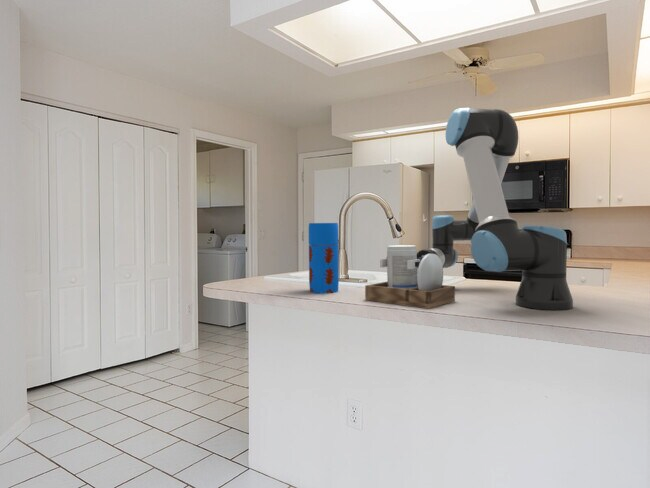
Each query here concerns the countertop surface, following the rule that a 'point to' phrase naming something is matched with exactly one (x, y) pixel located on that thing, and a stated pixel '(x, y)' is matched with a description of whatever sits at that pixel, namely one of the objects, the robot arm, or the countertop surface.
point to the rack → (409, 295)
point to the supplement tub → (401, 266)
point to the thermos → (323, 257)
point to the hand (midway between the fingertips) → (394, 264)
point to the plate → (430, 273)
